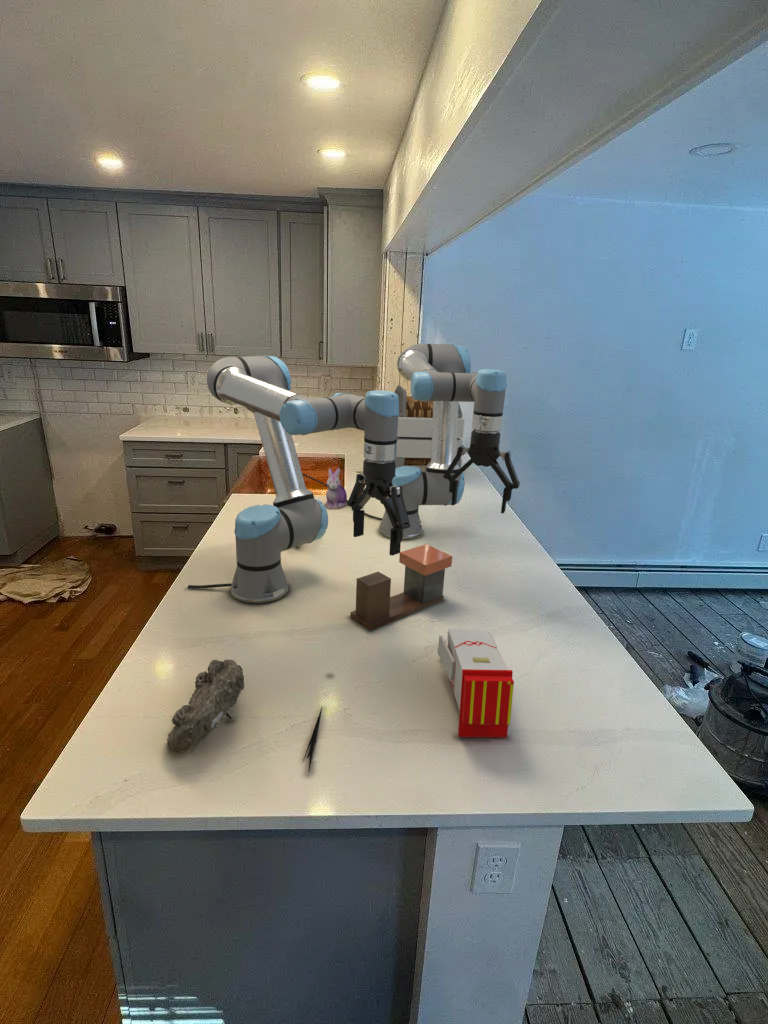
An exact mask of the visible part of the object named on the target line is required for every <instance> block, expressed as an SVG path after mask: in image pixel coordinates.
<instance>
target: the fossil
mask: <svg viewBox="0 0 768 1024" xmlns="http://www.w3.org/2000/svg"><path fill="white" fill-rule="evenodd" d="M243 670H244V669H243V667H242V665H240V664H237V662H236V661H235V660H234V659H232V658H231V659H227V658H226V659H224V660H223V661H222V660H217V659H212V660H211V661H210V663H209V665H208V666H207V671H201V672H199V673H198V674H197V675H196V676H195V680H194V684H195V685H194V687H195V689H194V690H193V693H192V694H191V697H190V698H189V700H188V704H184V705H182V706H181V707H180V709H177V710H176V711H175V713H174V715H173V716H172V718H171V723H172V724H173V727H172V730H171V731H170V732H168V734H167V738H166V741H167V742H166V745H167V749H168V750H169V751H173V752H174V753H176V754H178V753H182V752H188V751H189V752H192V751H193V750H195V748H196V747H197V746H199V744H200V743H201V742H203V741H204V740H205V739H206V738H207V737H208V736H209V735H210V734H211V733H212V732H214V730H215V729H217V727H218V726H219V724H220V722H221V721H222V720H223V719H224V718H225V716H226V717H227V719H229V720H233V717H232V715H230V714H229V710H230V709H231V708H234V706H235V704H236V703H237V702H238V699H239V697H240V695H241V693H242V691H243V690H245V689H244V688H245V675H244V671H243Z"/></svg>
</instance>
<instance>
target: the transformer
mask: <svg viewBox="0 0 768 1024" xmlns="http://www.w3.org/2000/svg"><path fill="white" fill-rule="evenodd" d="M393 392H394V393H396V394H397V395H398V398H399V417H398V429H397V453H396V459H395V460H394V461H395V462H396V468H397V467H403V466H412V467H413V466H415V467H426V466H427V465H428V464H429V463H430V462H431V445H432V422H433V401H421V400H414V399H413V398H412V396H411V395H407V394H408V393H407V390H406V389H404V388H403V387H402V385H399V384H398V385H397V386H396V388H395V390H394V391H393ZM464 429H465V419H464V418H463V411H462V408H461V405H460V404H459V407H458V427H457V446H456V455H457V450H458V447H460V446H461V445H463V442H464V441H463V440H462V439H463V438H464V431H465V430H464ZM462 461H463V460H462V457H461V458H460V460H459V461H458V463H457V465H458V466H459V467H460V468H461V467H462Z"/></svg>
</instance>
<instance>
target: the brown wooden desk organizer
mask: <svg viewBox="0 0 768 1024" xmlns="http://www.w3.org/2000/svg"><path fill="white" fill-rule="evenodd" d="M404 566H405V565H404ZM445 574H446V568H445V569H442V570H440V571H437V572H434V573H431V574H429V575H426V576H425V575H423V574H421V573H419V572H417V571H415V570H413V569H411V568H409V567H407V566H405V567H404V579H403V592H401V593H398V594H396V595H391V588H392V587H391V586H392V578H391V577H389V576H387V575H386V574H384V573H382V572H380V571H375V572H373V573H369V574H367V575H363V576H360V577H357V578H356V587H355V590H356V591H355V610H353V611H350V614H349V615H350V619H352V620H353V621H355V622H356V623H358V624H359V625H361V626H362V627H364V628H365V629H367V630H368V631H370V632H371V631H373V630H376V629H379V628H380V627H383V626H385V625H388V624H390V623H392V622H395V621H397V620H399V619H402V618H404V617H407V616H409V615H412V614H414V613H417V612H419V611H421V610H424V609H426V608H430V607H431V606H434V605H436V604H439V603H441V602H443V601H444V584H445Z"/></svg>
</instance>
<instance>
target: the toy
mask: <svg viewBox="0 0 768 1024" xmlns="http://www.w3.org/2000/svg"><path fill="white" fill-rule="evenodd" d="M446 640H447V643H446V641H445V639H444V636H443V635H442V634H439V637H438V646H437V656H438V657H439V659H440V661H441V663H442V666H443V668H444V670H445V672H446V674H447V677H448V679H449V681H450V684H451V687H452V690H453V693H454V697H455V701H456V705H457V708H458V711H459V714H458V715H459V716H458V730H457V731H458V732H457V737H458V738H508V731H509V726H510V725H511V717H512V707H513V697H514V696H513V695H514V684H515V680H514V679H513V673H514V671H513V670H512V669H508V667H507V665H506V662H505V661H504V659H503V658H502V655H501V653H500V651H499V649H498V647H497V643H496V639H495V637H494V635H493V634H491V632H490V631H489V629H467V628H466V629H465V628H463V629H461V628H460V629H459V628H448V630H447V639H446Z"/></svg>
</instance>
